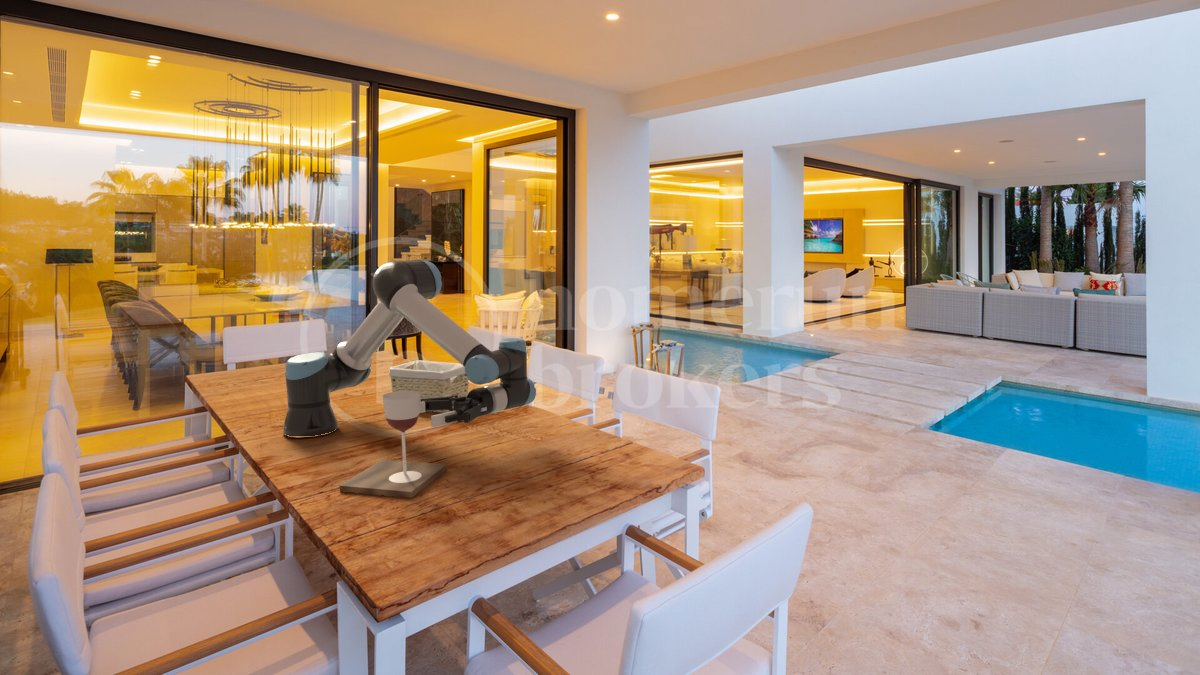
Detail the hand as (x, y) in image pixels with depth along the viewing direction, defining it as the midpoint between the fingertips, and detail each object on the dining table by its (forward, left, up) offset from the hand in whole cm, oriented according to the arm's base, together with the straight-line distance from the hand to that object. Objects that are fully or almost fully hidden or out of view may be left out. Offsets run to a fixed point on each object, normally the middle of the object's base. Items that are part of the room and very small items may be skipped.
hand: (416, 416), depth 153 cm
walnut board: (-3, -5, -15) cm, 16 cm away
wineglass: (0, -6, -13) cm, 15 cm away
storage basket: (-28, +61, -15) cm, 69 cm away
